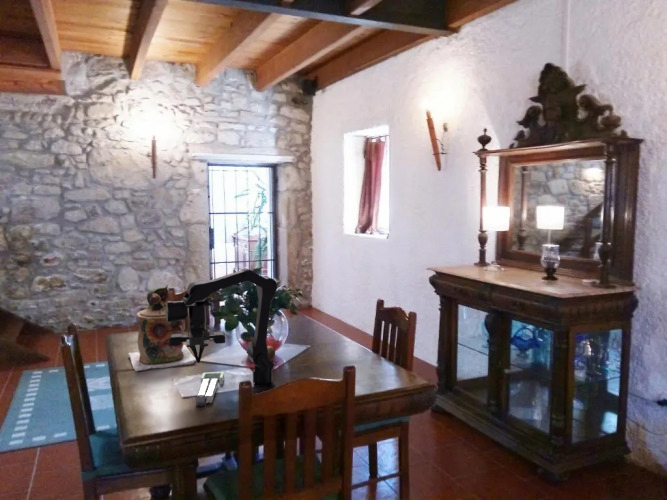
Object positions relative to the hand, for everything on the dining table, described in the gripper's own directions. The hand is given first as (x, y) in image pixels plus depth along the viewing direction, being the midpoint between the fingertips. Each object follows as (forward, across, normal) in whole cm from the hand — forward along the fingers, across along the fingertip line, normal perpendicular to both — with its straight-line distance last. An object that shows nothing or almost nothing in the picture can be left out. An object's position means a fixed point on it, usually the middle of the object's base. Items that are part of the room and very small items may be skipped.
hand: (198, 362), depth 186 cm
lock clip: (+11, +4, +10) cm, 15 cm away
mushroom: (+11, +26, +34) cm, 44 cm away
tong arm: (+11, +2, -4) cm, 11 cm away
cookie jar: (+11, -17, +41) cm, 46 cm away
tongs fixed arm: (+11, +4, -2) cm, 12 cm away
